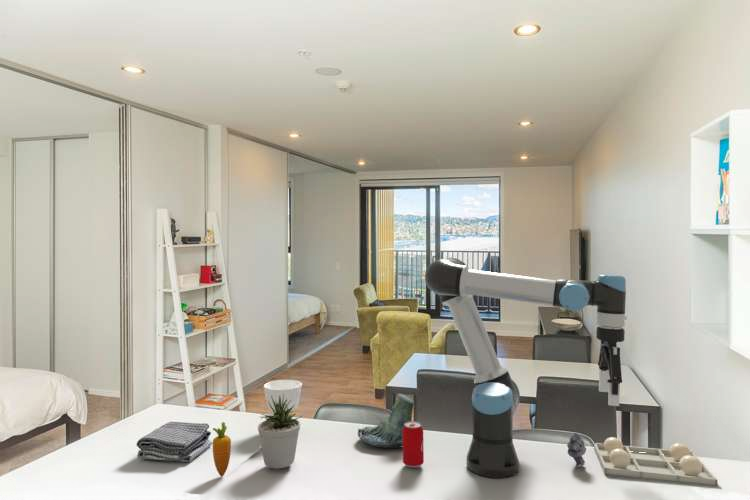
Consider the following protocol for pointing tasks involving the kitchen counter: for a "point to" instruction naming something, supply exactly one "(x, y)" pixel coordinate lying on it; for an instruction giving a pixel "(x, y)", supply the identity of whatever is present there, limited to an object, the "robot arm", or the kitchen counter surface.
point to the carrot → (221, 450)
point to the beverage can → (413, 444)
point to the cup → (283, 386)
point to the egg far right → (678, 451)
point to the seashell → (576, 449)
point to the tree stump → (390, 425)
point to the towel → (175, 442)
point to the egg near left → (619, 458)
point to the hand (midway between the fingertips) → (608, 398)
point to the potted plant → (279, 436)
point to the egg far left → (612, 444)
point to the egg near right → (690, 465)
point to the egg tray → (652, 466)
